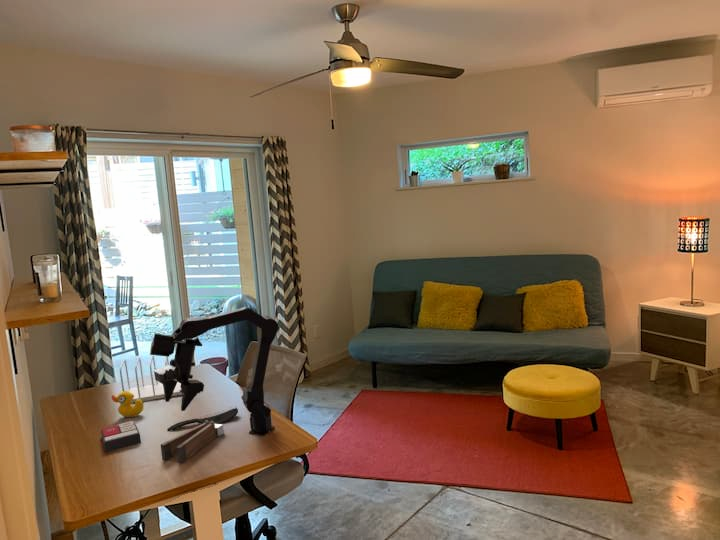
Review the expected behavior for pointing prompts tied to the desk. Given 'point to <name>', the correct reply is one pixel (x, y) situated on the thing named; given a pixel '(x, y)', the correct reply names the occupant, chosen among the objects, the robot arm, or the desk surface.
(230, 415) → the hairbrush
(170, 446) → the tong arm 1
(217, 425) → the tong hinge block
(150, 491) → the desk surface
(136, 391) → the file sorter
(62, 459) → the desk surface
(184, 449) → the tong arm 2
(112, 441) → the calculator
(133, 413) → the duckling
